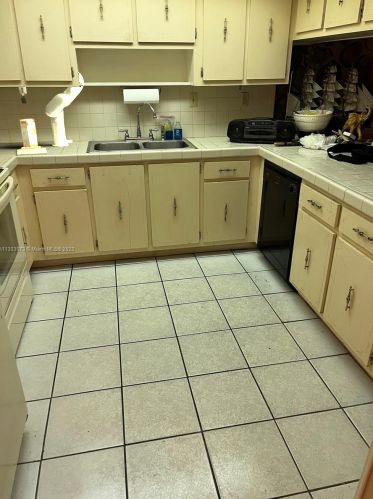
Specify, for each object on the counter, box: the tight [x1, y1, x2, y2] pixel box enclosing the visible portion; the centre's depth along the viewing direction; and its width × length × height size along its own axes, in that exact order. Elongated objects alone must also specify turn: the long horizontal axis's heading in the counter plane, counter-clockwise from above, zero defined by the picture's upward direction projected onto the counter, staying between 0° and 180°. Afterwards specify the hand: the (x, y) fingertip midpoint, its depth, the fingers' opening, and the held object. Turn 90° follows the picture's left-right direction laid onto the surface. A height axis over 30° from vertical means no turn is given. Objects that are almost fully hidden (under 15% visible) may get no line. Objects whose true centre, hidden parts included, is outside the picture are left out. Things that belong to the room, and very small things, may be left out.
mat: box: [16, 146, 48, 156], centre depth 270 cm, size 20×25×2 cm
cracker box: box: [19, 118, 39, 147], centre depth 283 cm, size 14×6×21 cm, turn 179°
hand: (24, 102), depth 286 cm, fingers open, 6 cm apart
